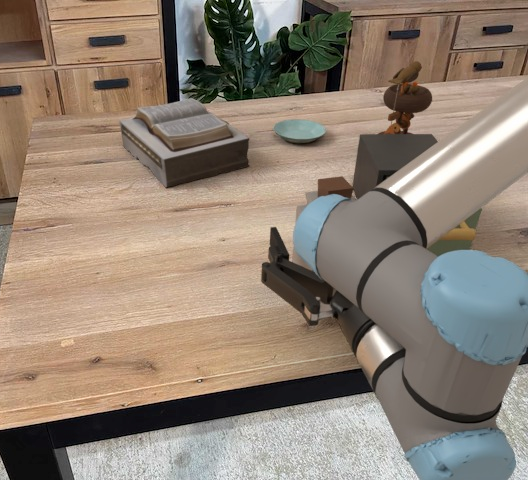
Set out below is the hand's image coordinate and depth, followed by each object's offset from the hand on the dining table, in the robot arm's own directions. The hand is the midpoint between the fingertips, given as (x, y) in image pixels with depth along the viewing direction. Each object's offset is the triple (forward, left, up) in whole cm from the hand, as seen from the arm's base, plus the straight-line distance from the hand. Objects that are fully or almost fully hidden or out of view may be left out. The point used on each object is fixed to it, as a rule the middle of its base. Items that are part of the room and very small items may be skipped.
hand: (322, 230), depth 71 cm
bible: (+23, -46, -10) cm, 52 cm away
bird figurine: (-23, -47, -10) cm, 53 cm away
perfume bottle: (0, +2, -10) cm, 10 cm away
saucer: (-3, -56, -10) cm, 57 cm away
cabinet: (-17, -24, -10) cm, 31 cm away
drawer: (-17, -10, -9) cm, 22 cm away
